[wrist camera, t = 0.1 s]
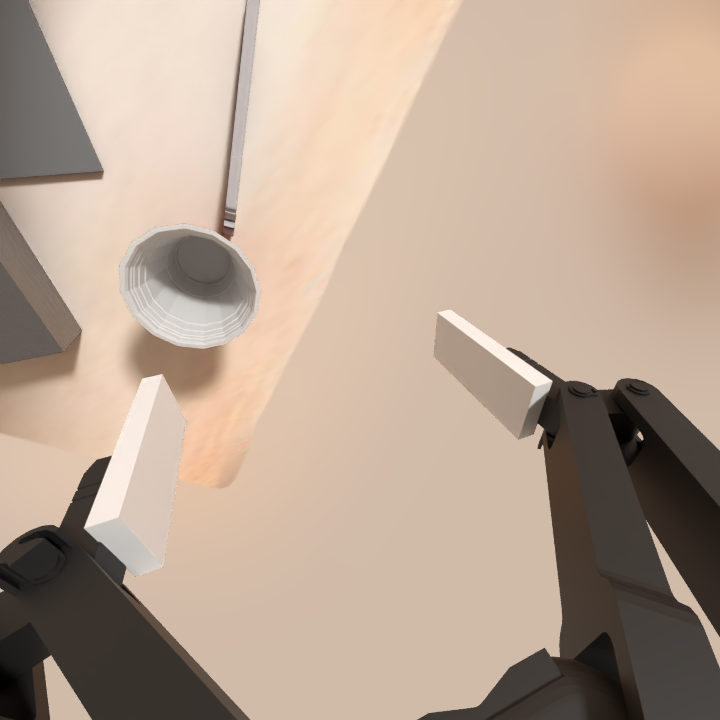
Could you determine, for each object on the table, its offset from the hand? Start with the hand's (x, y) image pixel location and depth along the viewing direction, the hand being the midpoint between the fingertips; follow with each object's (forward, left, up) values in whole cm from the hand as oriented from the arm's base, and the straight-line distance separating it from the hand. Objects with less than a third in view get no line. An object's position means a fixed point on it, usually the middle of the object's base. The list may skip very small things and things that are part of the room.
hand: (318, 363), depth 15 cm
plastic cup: (+1, -7, -28) cm, 29 cm away
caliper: (-11, 0, -28) cm, 31 cm away
